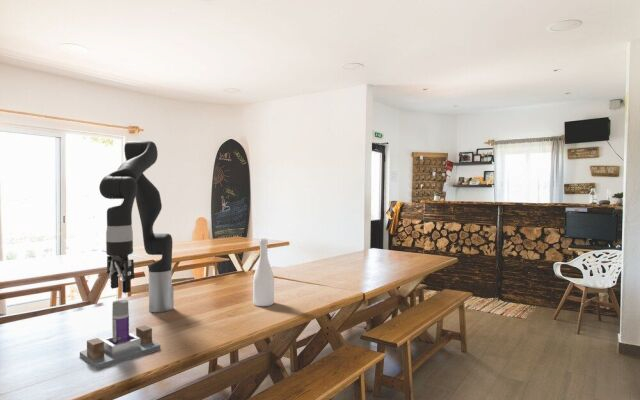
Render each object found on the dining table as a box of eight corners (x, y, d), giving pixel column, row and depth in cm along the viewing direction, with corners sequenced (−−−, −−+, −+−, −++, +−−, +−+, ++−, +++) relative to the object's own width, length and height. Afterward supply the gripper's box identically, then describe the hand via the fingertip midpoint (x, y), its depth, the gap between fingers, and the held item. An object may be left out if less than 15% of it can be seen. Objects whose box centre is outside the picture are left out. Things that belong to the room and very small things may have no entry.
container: (131, 345, 126) (131, 299, 126) (125, 351, 122) (124, 303, 121) (117, 345, 126) (116, 299, 126) (109, 351, 122) (109, 303, 121)
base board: (140, 338, 136) (140, 334, 136) (160, 349, 127) (160, 344, 127) (79, 356, 121) (79, 351, 121) (97, 369, 112) (97, 364, 112)
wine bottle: (249, 305, 176) (248, 239, 176) (261, 299, 185) (261, 237, 184) (266, 308, 172) (265, 240, 171) (278, 302, 180) (278, 238, 180)
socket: (128, 340, 130) (128, 332, 130) (140, 347, 125) (140, 338, 124) (101, 348, 123) (100, 339, 123) (112, 356, 118) (112, 346, 118)
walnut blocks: (145, 338, 132) (144, 325, 132) (152, 341, 129) (152, 328, 129) (86, 355, 119) (86, 340, 119) (93, 359, 115) (93, 344, 115)
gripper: (142, 240, 121) (142, 291, 122) (122, 236, 131) (122, 284, 131) (117, 242, 116) (117, 296, 116) (98, 238, 125) (98, 288, 125)
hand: (120, 290), depth 124 cm, fingers open, 8 cm apart
